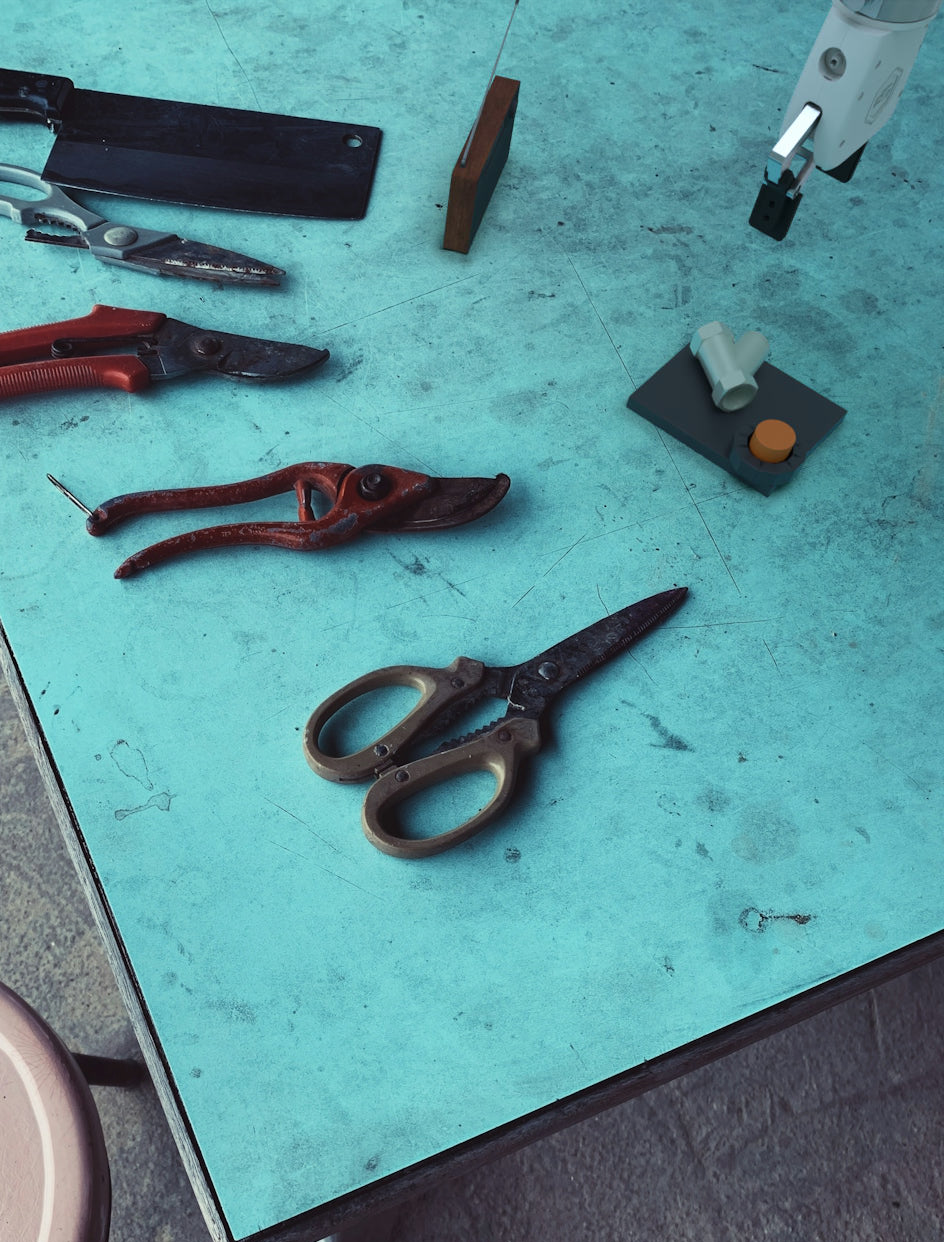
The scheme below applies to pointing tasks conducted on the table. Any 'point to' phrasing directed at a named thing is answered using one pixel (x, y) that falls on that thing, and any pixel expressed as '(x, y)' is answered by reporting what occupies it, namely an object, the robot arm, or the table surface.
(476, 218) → the radio
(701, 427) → the scale
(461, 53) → the table surface
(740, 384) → the pipe fitting
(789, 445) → the button
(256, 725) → the table surface
